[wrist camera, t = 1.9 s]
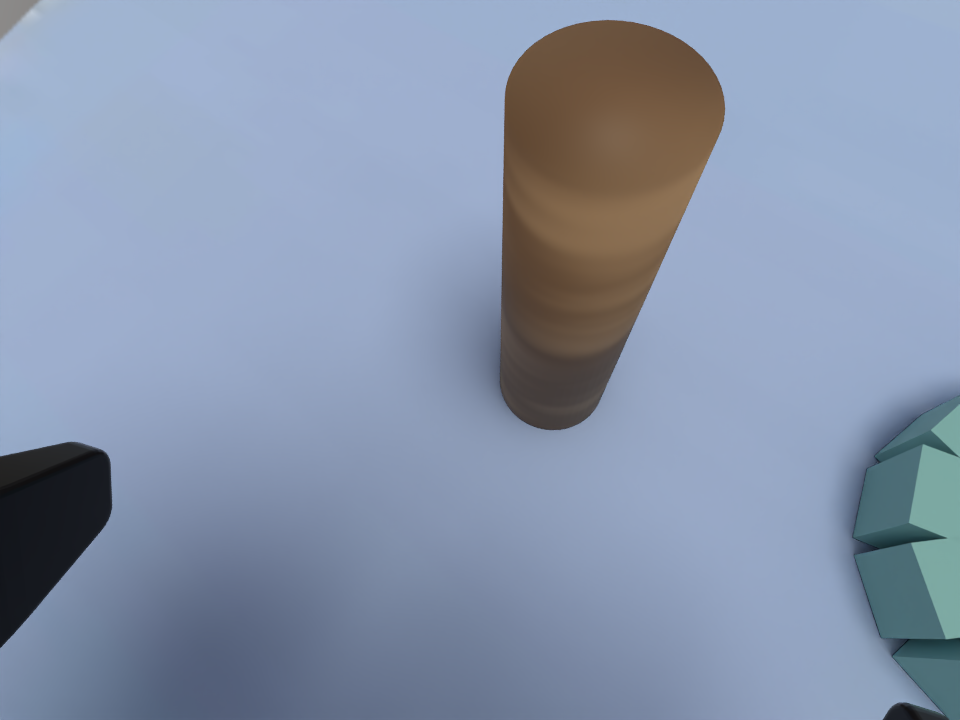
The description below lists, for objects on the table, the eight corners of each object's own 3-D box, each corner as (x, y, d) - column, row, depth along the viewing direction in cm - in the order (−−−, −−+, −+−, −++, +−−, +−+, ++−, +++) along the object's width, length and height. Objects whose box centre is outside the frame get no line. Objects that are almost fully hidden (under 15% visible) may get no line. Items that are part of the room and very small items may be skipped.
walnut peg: (624, 389, 22) (771, 113, 10) (543, 450, 22) (602, 227, 10) (558, 315, 24) (623, -9, 12) (479, 371, 23) (461, 84, 11)
